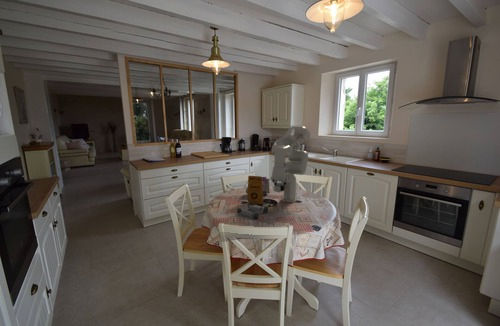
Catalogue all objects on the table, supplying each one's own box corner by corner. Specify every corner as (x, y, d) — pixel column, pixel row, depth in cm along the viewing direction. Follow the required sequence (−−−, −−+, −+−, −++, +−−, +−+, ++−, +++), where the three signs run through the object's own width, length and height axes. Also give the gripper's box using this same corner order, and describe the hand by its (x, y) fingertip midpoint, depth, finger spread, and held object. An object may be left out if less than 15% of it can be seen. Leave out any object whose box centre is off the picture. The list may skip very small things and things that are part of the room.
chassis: (251, 206, 168) (251, 201, 167) (268, 211, 159) (268, 205, 158) (236, 214, 153) (236, 209, 153) (254, 220, 145) (254, 214, 144)
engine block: (278, 188, 159) (278, 182, 158) (284, 189, 157) (284, 183, 156) (274, 191, 154) (274, 184, 153) (280, 192, 152) (280, 185, 151)
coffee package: (261, 206, 169) (261, 178, 164) (245, 204, 172) (245, 176, 168) (264, 201, 178) (265, 174, 174) (249, 199, 182) (249, 173, 177)
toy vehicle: (245, 194, 195) (245, 177, 192) (266, 192, 201) (266, 176, 198) (248, 197, 187) (248, 180, 184) (269, 195, 192) (270, 178, 189)
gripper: (293, 165, 150) (292, 190, 154) (271, 162, 159) (271, 186, 163) (288, 167, 144) (288, 194, 148) (266, 164, 153) (266, 189, 157)
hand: (279, 189), depth 155 cm, fingers closed on engine block, 4 cm apart
